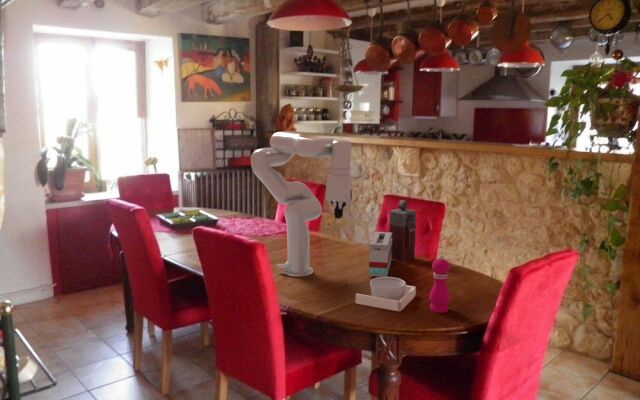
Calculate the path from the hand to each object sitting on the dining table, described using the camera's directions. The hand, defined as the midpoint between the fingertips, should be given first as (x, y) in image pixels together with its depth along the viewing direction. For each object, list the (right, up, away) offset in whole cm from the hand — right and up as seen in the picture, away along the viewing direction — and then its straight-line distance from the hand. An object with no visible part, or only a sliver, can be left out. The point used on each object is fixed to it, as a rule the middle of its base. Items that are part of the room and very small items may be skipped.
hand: (338, 217), depth 207 cm
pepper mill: (+35, -32, -22) cm, 52 cm away
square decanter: (+32, -21, +40) cm, 55 cm away
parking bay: (+17, -30, -12) cm, 37 cm away
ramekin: (+18, -30, -13) cm, 38 cm away
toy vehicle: (+20, -24, +25) cm, 40 cm away
